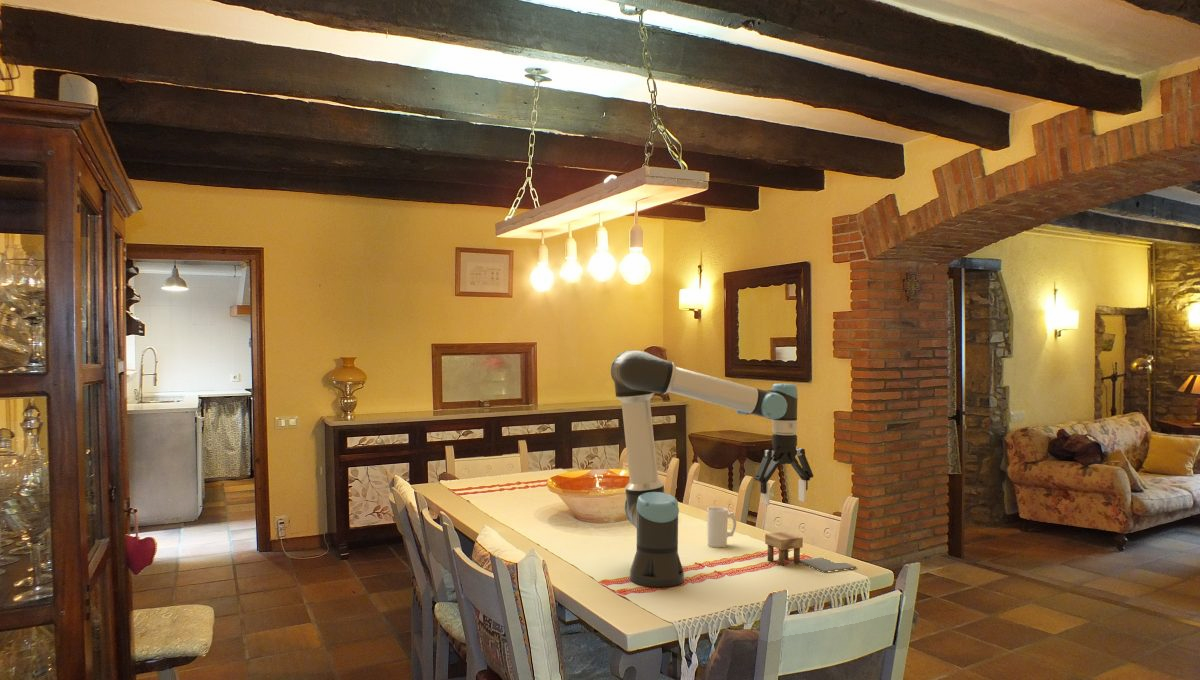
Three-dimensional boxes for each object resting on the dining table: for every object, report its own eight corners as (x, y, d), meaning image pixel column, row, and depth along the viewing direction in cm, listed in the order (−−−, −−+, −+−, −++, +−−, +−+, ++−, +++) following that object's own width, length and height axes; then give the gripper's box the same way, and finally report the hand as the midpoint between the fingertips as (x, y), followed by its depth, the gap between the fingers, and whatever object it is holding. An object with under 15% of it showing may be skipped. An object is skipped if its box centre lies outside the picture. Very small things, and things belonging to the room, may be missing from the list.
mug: (710, 548, 249) (711, 511, 249) (704, 543, 255) (704, 507, 256) (739, 547, 251) (740, 510, 251) (732, 542, 257) (732, 506, 258)
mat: (824, 572, 223) (824, 570, 223) (798, 562, 234) (798, 560, 234) (856, 568, 227) (856, 566, 227) (829, 558, 238) (829, 556, 238)
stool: (780, 566, 229) (781, 539, 229) (765, 559, 236) (765, 533, 236) (802, 563, 232) (802, 537, 232) (786, 557, 239) (786, 531, 239)
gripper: (758, 436, 226) (757, 507, 226) (825, 433, 236) (824, 501, 236) (743, 433, 233) (743, 503, 233) (809, 431, 243) (809, 497, 243)
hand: (784, 502), depth 234 cm, fingers open, 13 cm apart
